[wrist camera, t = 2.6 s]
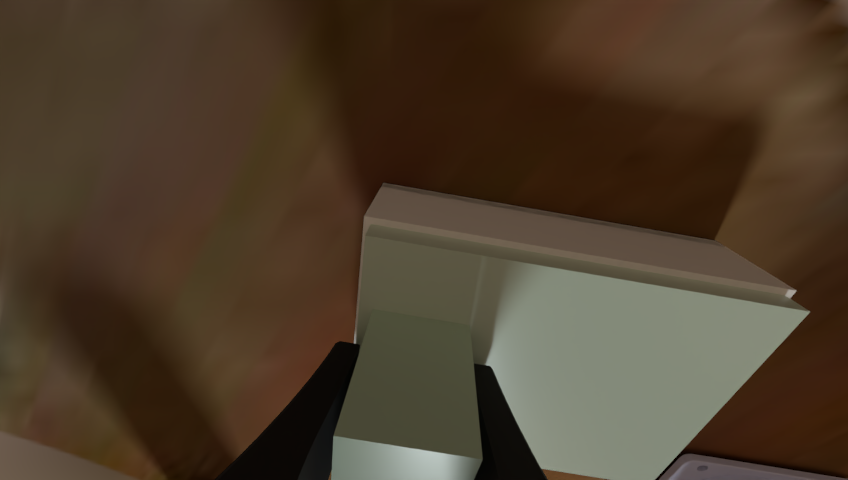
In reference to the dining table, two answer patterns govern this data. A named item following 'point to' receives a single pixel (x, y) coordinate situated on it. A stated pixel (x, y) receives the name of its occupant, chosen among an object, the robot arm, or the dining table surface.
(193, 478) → the dining table surface
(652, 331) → the lid
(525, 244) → the tub
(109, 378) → the dining table surface
